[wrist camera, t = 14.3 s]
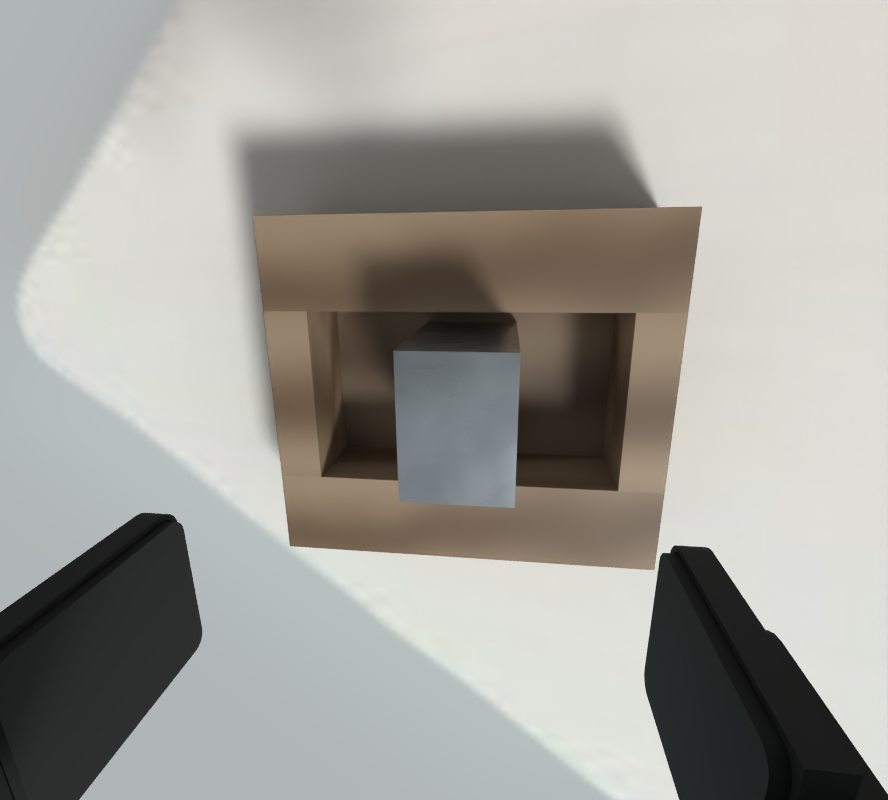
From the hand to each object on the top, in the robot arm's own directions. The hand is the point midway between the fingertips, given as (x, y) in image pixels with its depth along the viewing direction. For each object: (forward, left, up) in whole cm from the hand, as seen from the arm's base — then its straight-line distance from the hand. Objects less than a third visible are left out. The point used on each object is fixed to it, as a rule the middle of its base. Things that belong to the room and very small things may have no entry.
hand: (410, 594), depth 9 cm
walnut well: (0, 0, -18) cm, 18 cm away
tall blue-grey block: (0, 0, -17) cm, 17 cm away
